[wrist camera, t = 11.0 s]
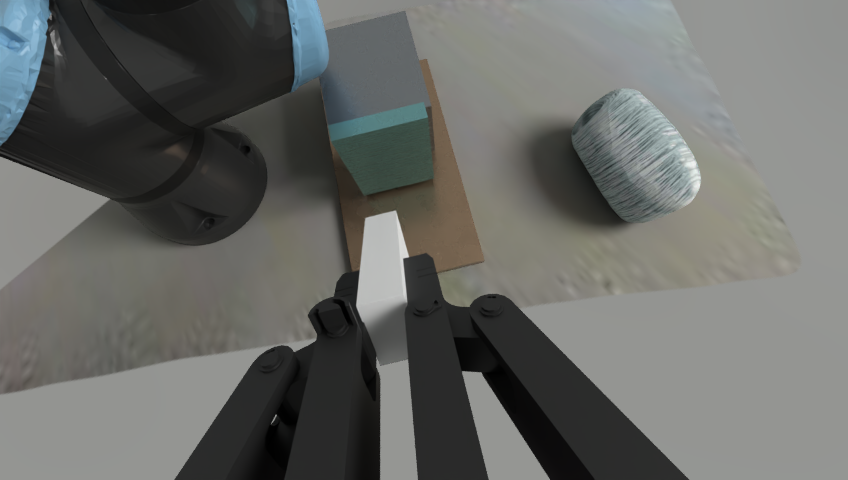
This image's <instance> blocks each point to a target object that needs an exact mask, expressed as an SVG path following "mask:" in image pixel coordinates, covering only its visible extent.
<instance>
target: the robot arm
mask: <svg viewBox="0 0 848 480" xmlns="http://www.w3.org/2000/svg"><path fill="white" fill-rule="evenodd" d="M328 61H329V49H328V42H327V37H326V33H325V29H324V25H323V21H322V18H321V14H320V10H319V7H318V4H317V0H0V157H3V158H6V159H9V160H11V161H13V162H16V163H19V164H21V165H24V166H27V167H29V168H32V169H34V170H37V171H40V172H42V173H45V174H48V175H50V176H53V177H55V178H58V179H60V180H63V181H66V182H68V183H71V184H74V185H76V186H79V187H81V188H84V189H86V190H89V191H92V192H95V193H97V194H100V195H102V196H105V197H107V198H110V199H112V200H115V201H117V202H118V203H120V204H121V205H122V206H123V207H124V208H125V209H126V210H128V211H129V212H130V213H131V214H132V215H133V216H134V217H135V218H137V219H138V220H139V221H140V222H141V223H142V224H143V225H145V226H146V227H147V228H148V229H149V230H151V231H152V232H154V233H155V234H157V235H159V236H161V237H164V238H166V239H169V240H172V241H175V242H178V243H182V244H187V245H203V244H209V243H213V242H216V241H219V240H221V239H223V238H225V237H227V236H229V235H231V234H233V233H234V232H236V231H237V230H238V229H240V228H241V227H242V226H243V225H244V224H245V223H246V222H247V221H248V220H249V219H250V218H251V217H252V215H253V214H254V213H255V211H256V210H257V208H258V207H259V205H260V203H261V201H262V198H263V196H264V193H265V189H266V184H267V169H266V164H265V161H264V158H263V156H262V154H261V152H260V151H259V149H258V148H257V147H256V146H255V145H254V144H253V143H252V142H251V141H250V140H249V139H248V138H247V137H246V136H245V135H244V134H243V133H241V132H240V131H239V130H237V129H235V128H234V127H232V126H229V125H227V124H225V123H222V122H220V121H222V120H224V119H227V118H229V117H232V116H234V115H236V114H239V113H241V112H244V111H246V110H248V109H251V108H253V107H255V106H258V105H260V104H263V103H265V102H267V101H270V100H272V99H275V98H277V97H279V96H282V95H284V94H287V93H292V92H293V91H295V90H296V89H297V88H298V87H299V86H301V85H303V84H305V83H307V82H308V81H310V80H312V79H314V78H316V77H318V76H320V75H321V74H322V73H323V72H324V70H325V69H326V67H327V65H328ZM308 317H309V319H310V321H311V323H312V325H313V327H314V329H315V331H316V333H317V339H316V341H315V342H313V343H312V344H310V345H308V346H306V347H304V348H302V349H300V350H298V351H296V352H293V350H292V349H291V348H290V347H288V346H283V345H281V346H277V347H273V348H271V349H269V350H267V351H265V352H264V353H263V354H261V355H260V356H259V357H258V358H257V359H256V360H255V361H254V362H253V364H252V365H251V366H250V368H249V369H248V371H247V373H246V374H245V375H244V377H243V379H242V380H241V382H240V383H239V384H238V386H237V387H236V389H235V391H234V392H233V393H232V395H231V396H230V398H229V399H228V401H227V402H226V404H225V405H224V407H223V408H222V410H221V411H220V413H219V414H218V416H217V417H216V419H215V420H214V422H213V423H212V425H211V426H210V428H209V429H208V431H207V432H206V433H205V435H204V437H203V438H202V440H201V441H200V442H199V444H198V445H197V447H196V449H195V450H194V451H193V453H192V455H191V456H190V457H189V459H188V461H187V462H186V463H185V465H184V466H183V468H182V469H181V471H180V472H179V474H178V475H177V477H176V478H175V480H380V376H379V372H378V370H377V368H376V356H377V359H378V361H379V364H380V366H382V365H386V364H390V363H394V362H398V361H403V360H406V359H408V363H409V375H410V387H411V399H412V410H413V424H414V435H415V448H416V460H417V472H418V480H489V479H488V476H487V471H486V467H485V463H484V459H483V455H482V451H481V447H480V443H479V439H478V435H477V431H476V427H475V423H474V420H473V415H472V411H471V407H470V403H469V399H468V395H467V391H466V387H465V383H464V379H463V375H462V371H471V372H482V374H483V376H484V378H485V379H486V381H487V383H488V384H489V386H490V387H491V389H492V390H493V392H494V393H495V395H496V397H497V398H498V400H499V401H500V403H501V404H502V406H503V407H504V409H505V411H506V412H507V414H508V415H509V417H510V418H511V420H512V421H513V423H514V424H515V426H516V427H517V429H518V430H519V432H520V434H521V435H522V437H523V438H524V440H525V441H526V443H527V445H528V446H529V448H530V449H531V451H532V452H533V454H534V455H535V457H536V458H537V460H538V461H539V463H540V465H541V466H542V468H543V469H544V471H545V472H546V474H547V475H548V477H549V478H550V480H689V479H688V478H687V477H686V476H685V475H684V474H683V473H682V472H681V471H680V470H679V469H678V468H677V467H676V466H675V465H674V464H673V463H672V462H671V461H670V460H669V459H668V458H667V457H666V456H665V455H664V454H663V453H662V452H661V451H660V450H659V449H658V448H657V447H656V446H655V445H654V444H653V443H652V442H651V441H650V440H649V439H648V438H647V437H646V436H645V435H644V434H643V433H642V432H641V431H640V430H639V429H638V428H637V427H636V426H635V425H634V424H633V423H632V422H631V421H630V420H629V419H628V418H627V417H626V416H625V415H624V414H623V413H622V412H621V411H620V410H619V409H618V408H617V407H616V406H615V405H614V404H613V403H612V402H611V401H610V400H609V399H608V398H607V397H606V396H605V395H604V394H603V393H602V392H601V391H600V390H599V389H598V388H597V387H596V386H595V384H594V383H593V382H591V380H590V379H589V378H587V376H586V375H584V373H583V372H581V370H580V369H579V368H577V366H576V365H575V364H574V363H573V362H572V361H571V360H570V359H569V358H567V356H566V355H565V354H563V352H562V351H561V350H560V349H559V348H558V347H557V346H556V345H555V344H554V343H553V342H552V341H551V340H550V339H549V338H548V337H547V336H546V335H545V334H544V333H543V332H542V331H541V330H540V329H539V328H538V327H537V326H536V325H535V324H534V323H533V322H532V321H531V320H530V319H529V318H528V317H527V316H526V315H525V314H524V313H523V312H522V311H521V310H520V309H519V308H518V307H517V306H516V305H515V304H514V303H513V302H512V301H511V300H510V299H508V298H507V297H505V296H503V295H499V294H487V295H483V296H480V297H479V298H477V299H475V300H474V301H473V302H472V304H471V305H470V307H458V306H454V305H451V304H449V303H448V302H446V301H445V300H444V298H443V295H442V291H441V287H440V283H439V279H438V275H437V271H436V267H435V264H434V260H433V258H432V257H431V256H430V255H429V254H427V253H424V254H420V255H416V256H412V257H409V255H408V252H407V248H406V245H405V241H404V237H403V234H402V230H401V227H400V223H399V220H398V216H397V213H396V211H391V212H387V213H383V214H379V215H375V216H371V217H367V218H365V226H364V236H363V245H362V255H361V265H360V270H358V271H354V272H349V273H345V274H343V275H342V276H341V278H340V279H339V280H338V282H337V284H336V289H335V294H334V297H331V298H328V299H325V300H323V301H321V302H319V303H318V304H316V305H315V306H314V307H313V308H312V309H311V310H310V312H309V314H308ZM275 415H277V417H276V418H275V420H274V422H273V423H272V424H271V422H272V421H273V419H274V417H275Z"/></svg>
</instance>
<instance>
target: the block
mask: <svg viewBox="0 0 848 480" xmlns="http://www.w3.org/2000/svg"><path fill="white" fill-rule="evenodd" d="M328 129H329V134H330V140H331V143H332V144H333V146H334V147H335V149H336V151H337V152H338V154H339V156H340V157H341V159H342V160H343V162H344V164H345V165H346V167H347V169H348V170H349V172H350V173H351V175H352V177H353V178H354V180H355V182H356V183H357V185H358V186H359V188H360V190H361V191H362V193H363V195H364V196H365V195H369V194H373V193H377V192H381V191H385V190H389V189H393V188H397V187H402V186H406V185H410V184H414V183H418V182H422V181H426V180H430V179H434V171H433V162H432V152H431V142H430V132H429V123H428V116H427V112H426V108H425V105H424V102H421V103H417V104H413V105H409V106H405V107H401V108H397V109H393V110H389V111H385V112H381V113H377V114H373V115H368V116H364V117H360V118H356V119H352V120H348V121H344V122H340V123H336V124H332V125H328Z"/></svg>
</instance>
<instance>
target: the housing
mask: <svg viewBox="0 0 848 480" xmlns="http://www.w3.org/2000/svg"><path fill="white" fill-rule="evenodd" d="M325 33H326V37H327V42H328V49H329V61H328V65H327V67H326V69H325V70H324V72H323V73H322V74H321V75H320V76H319V78H320V84H321V85H320V87H321V92H322V98H323V104H324V110H325V116H326V122H327V128H328V125H332V124H336V123H340V122H344V121H348V120H352V119H356V118H360V117H364V116H368V115H373V114H377V113H381V112H385V111H389V110H393V109H397V108H401V107H405V106H409V105H413V104H417V103H421V102H424V105H425V108H426V112H427V116H428V123H429V132H430V142H431V152H432V162H433V171H434V179H430V180H426V181H422V182H418V183H414V184H410V185H406V186H402V187H397V188H393V189H389V190H385V191H381V192H377V193H373V194H369V195H365V196H364V195H363V193H362V191H361V190H360V188H359V186H358V185H357V183H356V182H355V180H354V178H353V177H352V175H351V173H350V172H349V170H348V169H347V167H346V165H345V164H344V162H343V160H342V159H341V157H340V156H339V154H338V152H337V151H336V149H335V147H334V146H333V144H332V143H331V140H330V145H331V151H332V157H333V163H334V169H335V175H336V180H337V186H338V192H339V198H340V204H341V210H342V216H343V222H344V227H345V233H346V239H347V245H348V251H349V257H350V263H351V268H352V272H354V271H358V270H360V265H361V255H362V245H363V236H364V226H365V218H367V217H371V216H375V215H379V214H383V213H387V212H391V211H396V213H397V216H398V220H399V223H400V227H401V230H402V234H403V237H404V241H405V245H406V248H407V252H408V255H409V257H412V256H416V255H420V254H424V253H427V254H429V255H430V256H431V257H432V258H433V260H434V264H435V267H436V271H437V273H440V272H444V271H448V270H453V269H457V268H461V267H465V266H469V265H473V264H478V263H482V262H484V257H483V253H482V250H481V246H480V243H479V239H478V236H477V232H476V229H475V226H474V222H473V219H472V215H471V212H470V208H469V205H468V201H467V198H466V194H465V191H464V187H463V184H462V180H461V177H460V173H459V170H458V166H457V163H456V159H455V156H454V152H453V149H452V145H451V142H450V138H449V135H448V131H447V128H446V124H445V121H444V117H443V114H442V110H441V107H440V103H439V100H438V97H437V93H436V90H435V86H434V83H433V79H432V76H431V72H430V69H429V65H428V62H427V59H424V60H420V61H419V59H418V56H417V52H416V49H415V45H414V41H413V38H412V34H411V31H410V27H409V23H408V20H407V16H406V13H405V11H403V12H399V13H395V14H391V15H387V16H382V17H378V18H374V19H370V20H366V21H362V22H358V23H354V24H350V25H346V26H342V27H338V28H334V29H330V30H326V31H325ZM328 134H329V129H328ZM329 139H330V134H329Z"/></svg>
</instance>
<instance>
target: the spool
mask: <svg viewBox="0 0 848 480" xmlns="http://www.w3.org/2000/svg"><path fill="white" fill-rule="evenodd" d="M571 138H572V144H573V147H574V149H575V150H576V151H577V153H578V155H579V157H580V159H581V160H582V162H583V164H584V165H585V167H586V169H587V170H588V172H589V173H590V175H591V177H592V178H593V180H594V182H595V184H596V185H597V187H598V188H599V190H600V192H601V193H602V195H603V196H604V198H605V199H606V200H607V201H608V203H609V205H610V207H611V208H612V209H613V210H614V211H615V212H616V213H617V215H618V216H619V217H621V218H622V219H623V220H624V221H627V222H633V223H645V222H649V221H653V220H656V219H658V218H662V217H664V216H666V215H668V214H669V213H671V212H674V211H676V210H678V209H680V208H682V207H684V206H686V205H687V204H689V203H690V202H691V201H692V200H693V199H694V197H695V196H696V194H697V192H698V190H699V188H700V183H701V178H700V171H699V167H698V165H697V162H696V160H695V158H694V156H693V153H692V152H691V151H690V149H689V147H688V146H687V144H686V143H685V141H684V140H683V138H682V137H681V135H680V134H679V132H678V131H677V130H676V128H675V127H674V126H673V125H672V124H671V123H670V122H669V121H668V120H667V118H666V117H665V116H664V115H663V114H662V113H661V112H660V111H659V110H658V109H657V108H656V107H655V106H654V105H653V104H652V103H651V102H650V101H649V100H648V99H646V98H645V97H644V96H643V95H642V94H641V93H640V92H639V91H636V90H634V89H626V88H622V89H618V90H614V91H612V92H610V93H608V94H606V95H605V96H603V97H602V98H600V99H599V100H597V101H596V102H595V103H593V104H592V105H591V106H590V107H589V108H588V109H587V110H586V111H585V112H584V113H583V114H582V115H581V117H580V118H579V119H578V121H577V122H576V123H575V125H574V127H573V130H572V134H571Z"/></svg>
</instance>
